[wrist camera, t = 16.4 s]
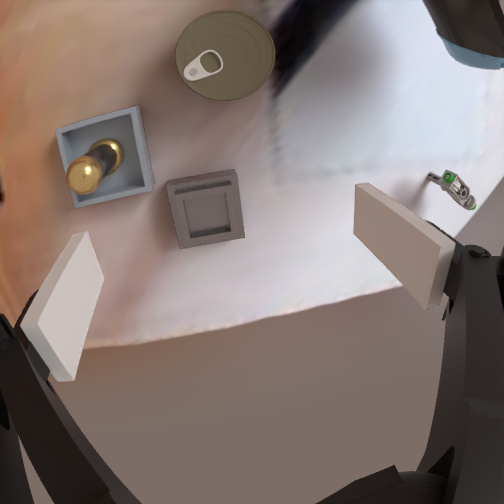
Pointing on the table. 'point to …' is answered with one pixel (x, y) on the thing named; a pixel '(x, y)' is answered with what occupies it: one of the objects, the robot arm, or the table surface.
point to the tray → (134, 145)
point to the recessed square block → (206, 208)
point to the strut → (94, 165)
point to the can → (225, 55)
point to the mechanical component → (455, 188)
